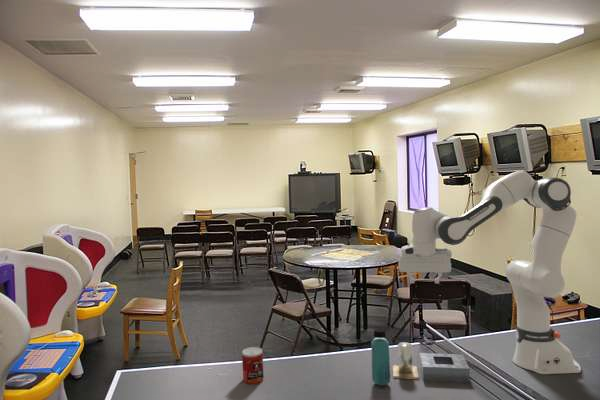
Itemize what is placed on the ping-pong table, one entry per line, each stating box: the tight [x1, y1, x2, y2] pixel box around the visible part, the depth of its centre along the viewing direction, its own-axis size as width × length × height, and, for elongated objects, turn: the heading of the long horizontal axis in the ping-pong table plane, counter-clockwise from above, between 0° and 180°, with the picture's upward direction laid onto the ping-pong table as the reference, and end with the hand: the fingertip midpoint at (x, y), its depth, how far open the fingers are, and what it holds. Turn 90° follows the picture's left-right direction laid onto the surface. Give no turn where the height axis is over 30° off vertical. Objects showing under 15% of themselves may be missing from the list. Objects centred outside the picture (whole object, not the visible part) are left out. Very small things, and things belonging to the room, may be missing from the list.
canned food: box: [241, 346, 265, 385], centre depth 161 cm, size 8×8×11 cm
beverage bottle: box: [370, 328, 391, 386], centre depth 154 cm, size 6×7×20 cm
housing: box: [419, 352, 471, 383], centre depth 161 cm, size 16×12×5 cm
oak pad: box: [392, 364, 420, 380], centre depth 163 cm, size 9×9×1 cm
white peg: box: [397, 341, 414, 374], centre depth 162 cm, size 5×5×10 cm
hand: (424, 283), depth 172 cm, fingers open, 8 cm apart
